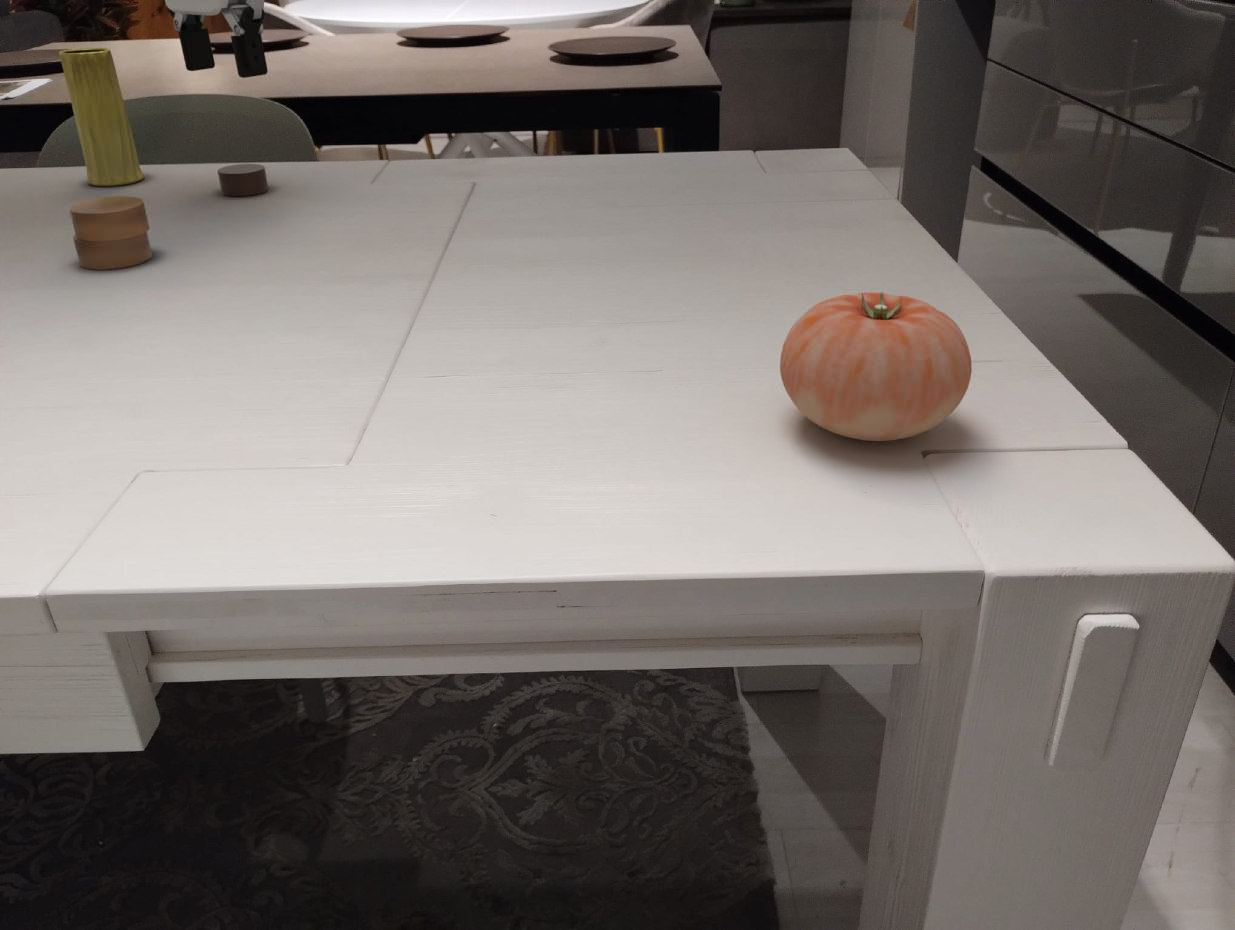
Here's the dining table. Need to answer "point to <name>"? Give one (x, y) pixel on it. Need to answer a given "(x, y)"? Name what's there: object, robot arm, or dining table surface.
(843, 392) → the tomato
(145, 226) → the pile chip top
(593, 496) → the dining table surface
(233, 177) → the walnut chip
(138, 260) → the pile chip bottom
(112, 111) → the vase
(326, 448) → the dining table surface
